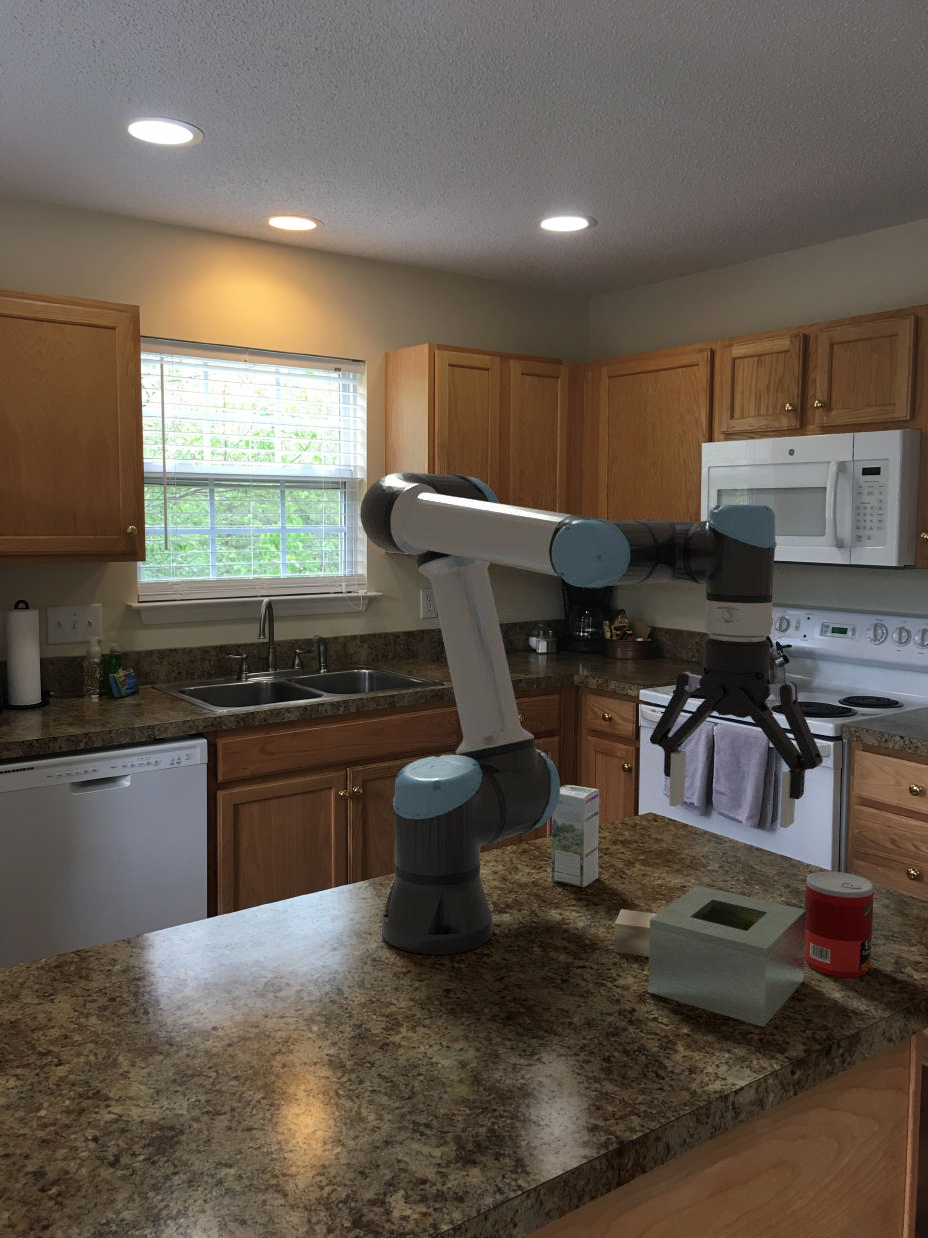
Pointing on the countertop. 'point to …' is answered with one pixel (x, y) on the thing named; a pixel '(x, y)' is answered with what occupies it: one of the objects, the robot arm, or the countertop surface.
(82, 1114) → the countertop surface
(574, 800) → the syrup box
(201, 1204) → the countertop surface
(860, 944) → the canned food
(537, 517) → the robot arm
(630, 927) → the block
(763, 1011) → the box
